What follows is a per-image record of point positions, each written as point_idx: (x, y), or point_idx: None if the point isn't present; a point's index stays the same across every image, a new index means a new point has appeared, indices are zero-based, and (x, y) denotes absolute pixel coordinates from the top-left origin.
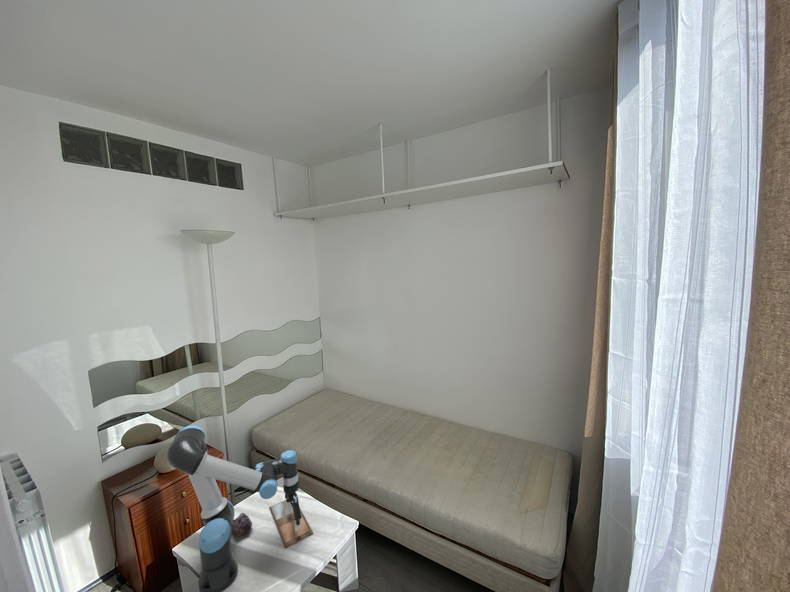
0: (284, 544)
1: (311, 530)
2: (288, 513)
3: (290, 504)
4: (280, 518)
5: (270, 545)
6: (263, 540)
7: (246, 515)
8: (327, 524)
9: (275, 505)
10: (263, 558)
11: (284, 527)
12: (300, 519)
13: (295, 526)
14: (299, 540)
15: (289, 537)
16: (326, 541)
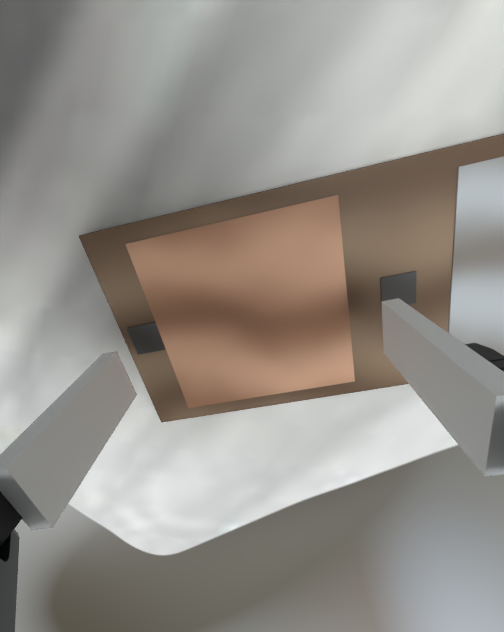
0: (110, 231)
1: (185, 416)
2: (386, 316)
3: (450, 411)
4: (450, 211)
5: (152, 95)
6: (246, 6)
7: None
8: (210, 484)
9: None
10: (4, 12)
11: (305, 242)
12: (326, 367)
13: (73, 389)
14: (126, 339)
15: (171, 276)
16: None
